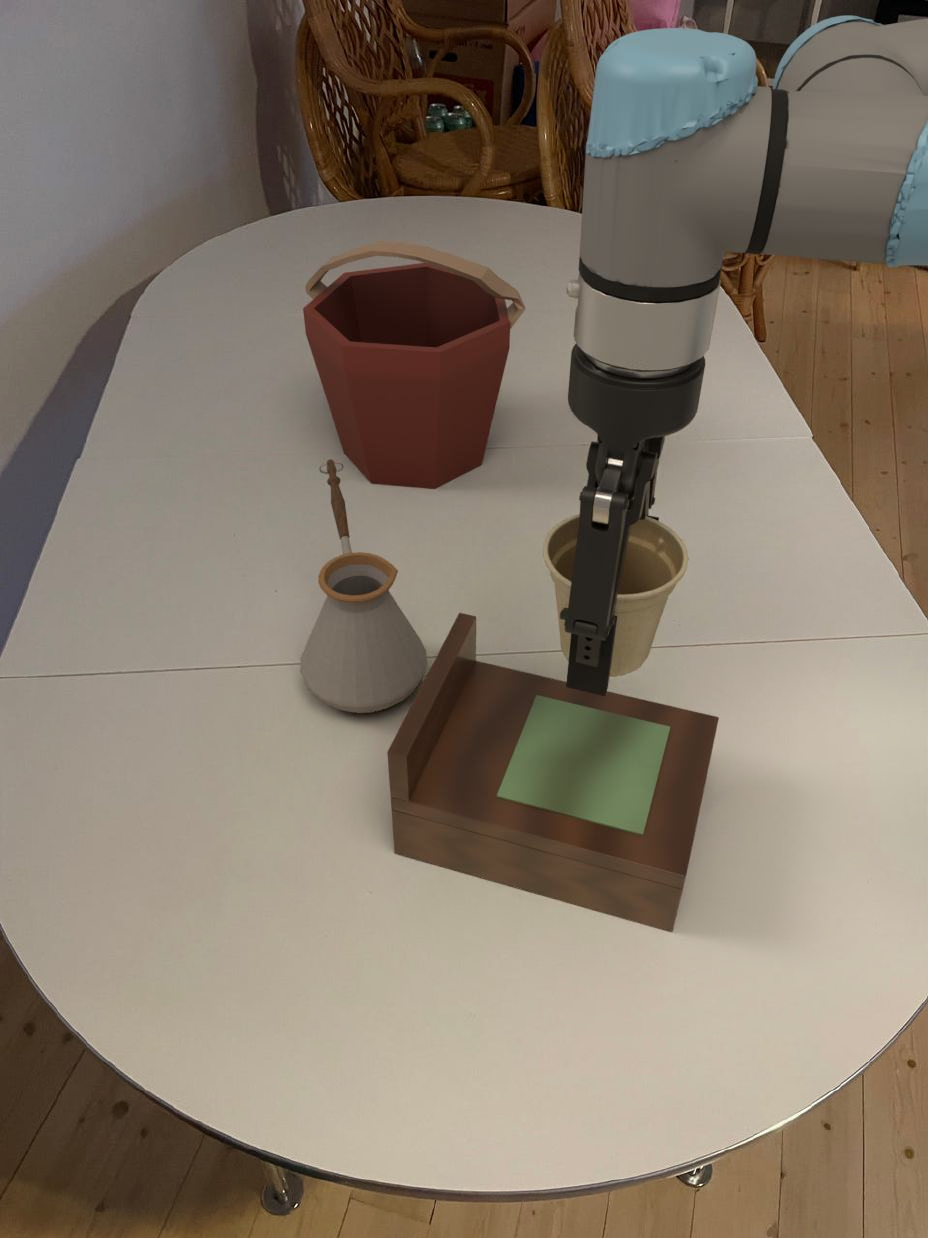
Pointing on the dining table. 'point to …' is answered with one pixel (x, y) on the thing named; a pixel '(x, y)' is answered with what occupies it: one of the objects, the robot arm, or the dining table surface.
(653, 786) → the plant shelf
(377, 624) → the coffee pot
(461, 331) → the bucket
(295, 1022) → the dining table surface
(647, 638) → the flower pot
